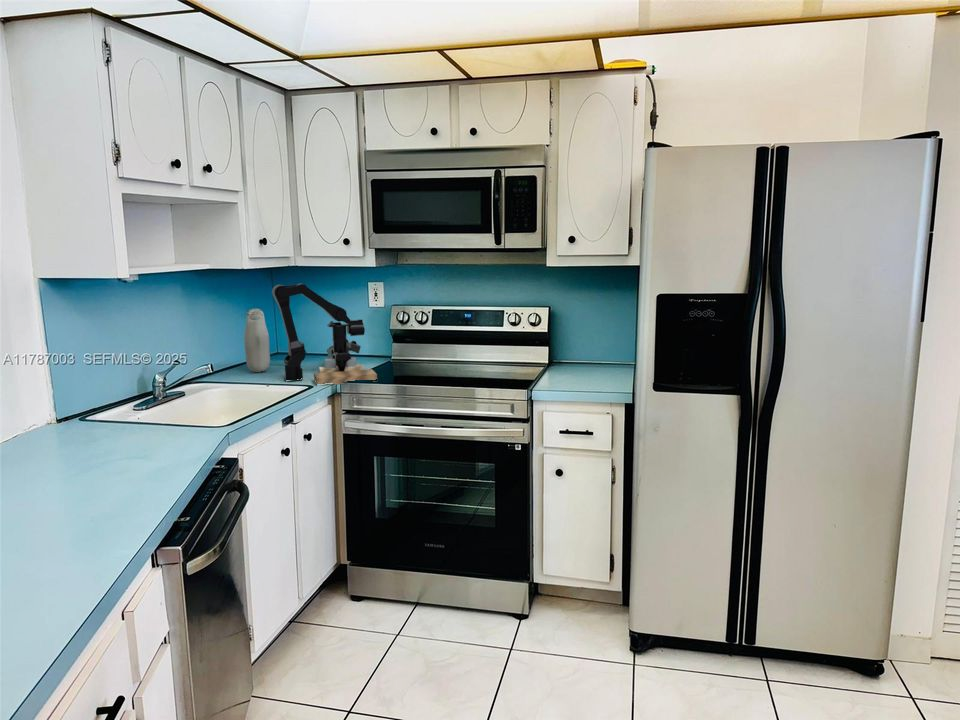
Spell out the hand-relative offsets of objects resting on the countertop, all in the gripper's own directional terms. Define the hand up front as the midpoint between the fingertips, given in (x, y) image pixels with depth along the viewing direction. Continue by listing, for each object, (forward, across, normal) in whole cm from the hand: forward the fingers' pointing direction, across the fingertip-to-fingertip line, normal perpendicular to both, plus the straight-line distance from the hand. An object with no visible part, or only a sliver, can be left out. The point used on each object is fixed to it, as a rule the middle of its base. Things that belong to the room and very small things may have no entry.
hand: (341, 373), depth 295 cm
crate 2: (-3, 0, -4) cm, 5 cm away
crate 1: (-3, 0, +4) cm, 5 cm away
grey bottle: (+1, +22, +33) cm, 40 cm away
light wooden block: (+1, 0, 0) cm, 1 cm away
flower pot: (+1, +22, -2) cm, 22 cm away
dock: (+1, -12, 0) cm, 12 cm away
